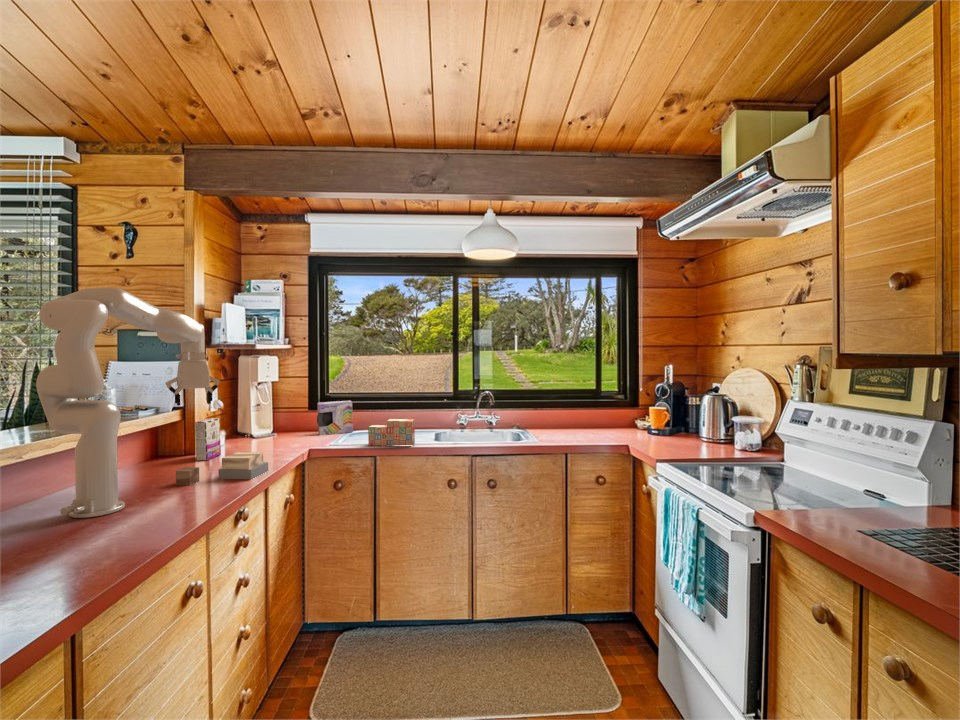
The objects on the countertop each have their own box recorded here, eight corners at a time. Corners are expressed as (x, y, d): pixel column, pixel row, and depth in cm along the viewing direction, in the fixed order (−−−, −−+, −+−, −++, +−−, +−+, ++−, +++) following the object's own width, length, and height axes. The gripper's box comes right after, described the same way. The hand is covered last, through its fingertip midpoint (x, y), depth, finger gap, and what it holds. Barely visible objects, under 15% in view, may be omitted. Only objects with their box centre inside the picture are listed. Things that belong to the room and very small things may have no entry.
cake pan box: (317, 435, 263) (317, 403, 262) (316, 434, 267) (315, 402, 267) (353, 432, 272) (353, 401, 272) (351, 431, 276) (350, 400, 276)
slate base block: (251, 481, 172) (251, 470, 172) (218, 480, 173) (218, 469, 173) (268, 472, 184) (268, 462, 184) (237, 472, 185) (237, 462, 185)
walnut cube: (189, 485, 166) (189, 470, 166) (175, 485, 167) (175, 470, 166) (199, 481, 171) (199, 467, 171) (185, 481, 172) (185, 467, 171)
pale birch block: (248, 469, 173) (248, 458, 173) (221, 469, 174) (221, 457, 174) (263, 462, 183) (263, 452, 183) (237, 462, 184) (237, 452, 184)
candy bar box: (209, 455, 215) (209, 418, 214) (221, 455, 215) (220, 418, 214) (194, 461, 203) (194, 421, 203) (206, 461, 203) (206, 421, 203)
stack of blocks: (368, 446, 233) (367, 420, 233) (372, 443, 239) (371, 418, 239) (412, 446, 231) (411, 420, 231) (415, 444, 237) (414, 418, 237)
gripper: (166, 357, 169) (167, 407, 170) (221, 357, 180) (222, 403, 180) (163, 357, 175) (164, 405, 175) (217, 357, 186) (218, 401, 186)
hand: (193, 404), depth 178 cm, fingers open, 9 cm apart
